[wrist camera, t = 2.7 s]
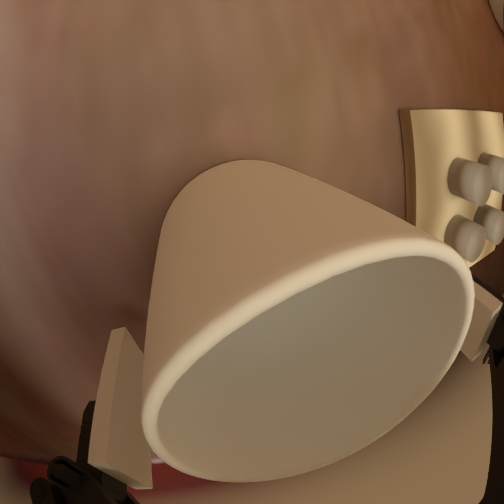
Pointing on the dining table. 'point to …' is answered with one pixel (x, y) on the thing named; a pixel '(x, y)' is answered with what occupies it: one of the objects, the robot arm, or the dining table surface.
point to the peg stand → (455, 177)
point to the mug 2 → (498, 12)
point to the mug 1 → (290, 324)
